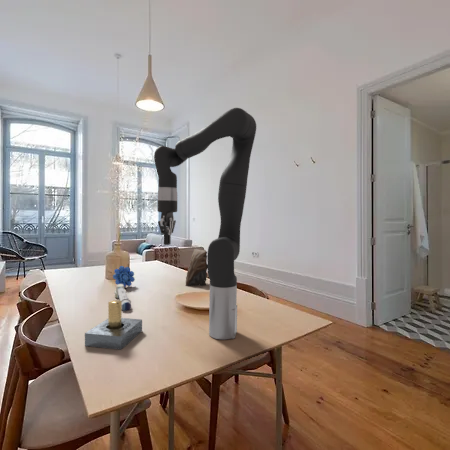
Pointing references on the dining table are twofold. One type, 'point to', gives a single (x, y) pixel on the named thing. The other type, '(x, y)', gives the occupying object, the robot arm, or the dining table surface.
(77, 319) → the dining table surface
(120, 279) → the blue flower
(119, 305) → the brass plug
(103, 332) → the plate
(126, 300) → the white electric toothbrush
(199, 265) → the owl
